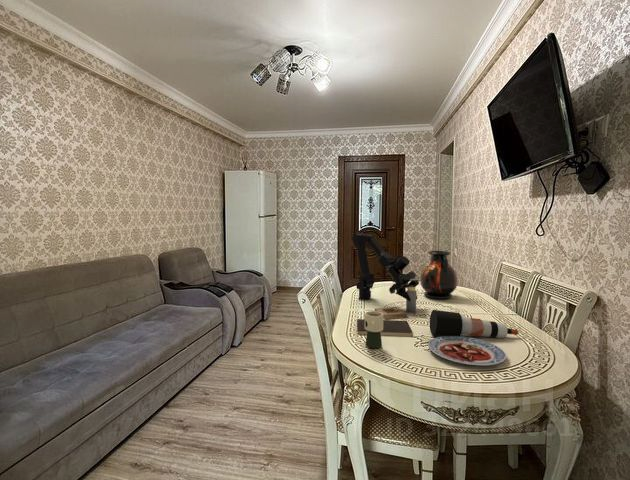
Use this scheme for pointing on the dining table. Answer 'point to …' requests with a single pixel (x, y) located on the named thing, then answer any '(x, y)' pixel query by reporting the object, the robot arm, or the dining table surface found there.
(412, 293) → the grey and tan cylinder
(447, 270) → the dark orange vase
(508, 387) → the dining table surface
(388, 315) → the brown square frame
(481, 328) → the black white tapered cylinder
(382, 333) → the hardcover book
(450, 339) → the ceramic plate
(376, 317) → the character mug
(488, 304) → the dining table surface
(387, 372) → the dining table surface
